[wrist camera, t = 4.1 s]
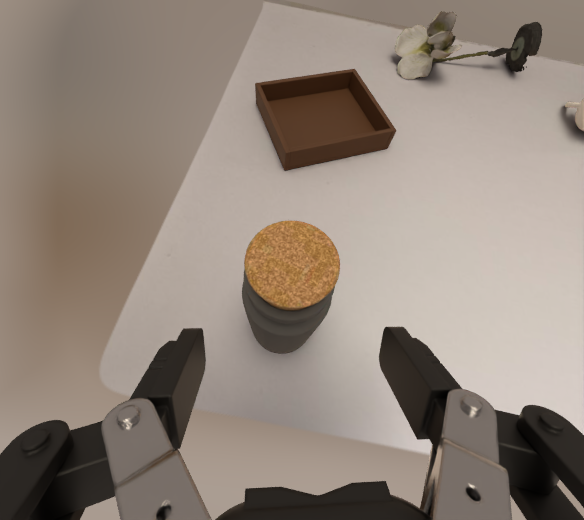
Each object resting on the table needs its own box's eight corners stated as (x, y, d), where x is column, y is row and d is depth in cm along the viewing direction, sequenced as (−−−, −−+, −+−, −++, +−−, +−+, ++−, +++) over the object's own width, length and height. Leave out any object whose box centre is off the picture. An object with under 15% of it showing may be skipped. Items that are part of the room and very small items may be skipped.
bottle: (282, 283, 29) (293, 192, 15) (323, 324, 27) (375, 263, 14) (239, 322, 27) (206, 257, 13) (280, 368, 25) (291, 349, 12)
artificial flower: (518, 92, 48) (574, 38, 38) (388, 97, 49) (409, 46, 39) (511, 48, 49) (563, -16, 39) (385, 54, 50) (405, -7, 40)
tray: (284, 170, 35) (285, 152, 32) (256, 103, 40) (255, 83, 37) (387, 148, 38) (396, 130, 35) (349, 88, 43) (354, 68, 40)
